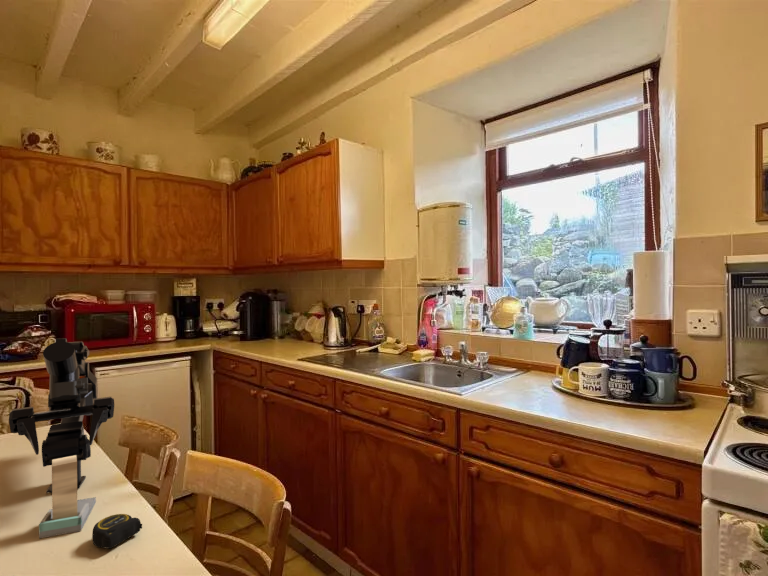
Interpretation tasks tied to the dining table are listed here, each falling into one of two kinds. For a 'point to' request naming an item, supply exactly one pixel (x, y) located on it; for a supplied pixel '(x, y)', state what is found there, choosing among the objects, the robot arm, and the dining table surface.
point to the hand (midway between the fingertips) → (64, 448)
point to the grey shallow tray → (67, 520)
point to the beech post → (64, 487)
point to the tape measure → (115, 530)
